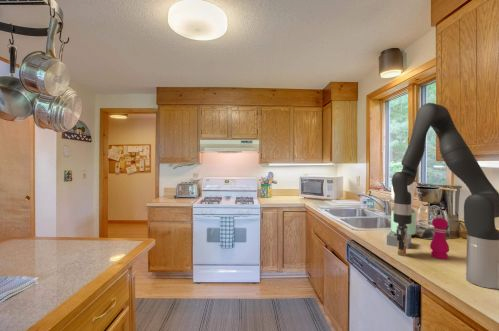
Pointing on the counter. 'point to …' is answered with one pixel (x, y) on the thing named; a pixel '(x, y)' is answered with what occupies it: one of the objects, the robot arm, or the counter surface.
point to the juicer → (412, 226)
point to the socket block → (393, 240)
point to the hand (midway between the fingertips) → (401, 248)
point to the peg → (402, 252)
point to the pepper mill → (439, 238)
